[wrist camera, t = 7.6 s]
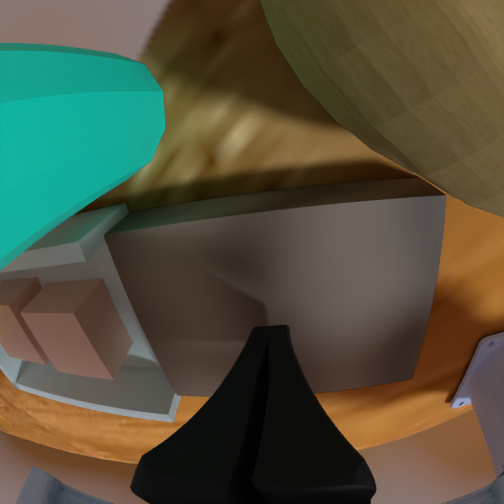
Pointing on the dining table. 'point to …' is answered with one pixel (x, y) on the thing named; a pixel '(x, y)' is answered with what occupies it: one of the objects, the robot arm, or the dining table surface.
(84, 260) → the tray
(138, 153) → the candle
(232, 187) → the dining table surface
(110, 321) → the tile
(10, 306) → the tile
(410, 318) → the grey slab
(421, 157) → the pot
